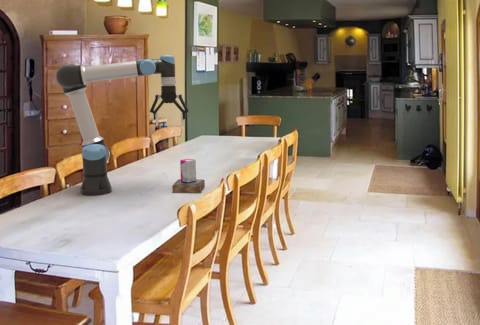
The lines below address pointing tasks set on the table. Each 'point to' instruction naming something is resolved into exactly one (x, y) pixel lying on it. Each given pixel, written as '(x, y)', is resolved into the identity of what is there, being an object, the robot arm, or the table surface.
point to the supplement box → (188, 170)
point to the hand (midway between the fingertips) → (169, 125)
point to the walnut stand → (188, 186)
